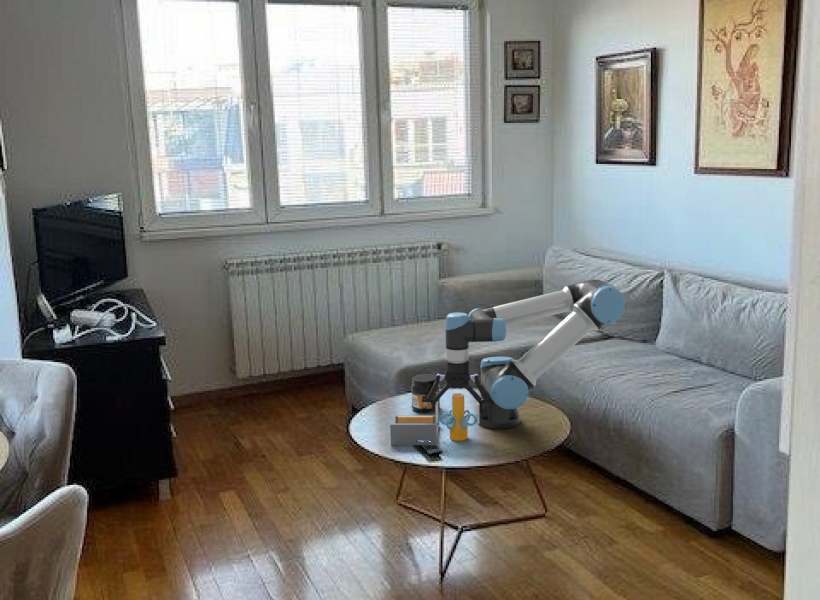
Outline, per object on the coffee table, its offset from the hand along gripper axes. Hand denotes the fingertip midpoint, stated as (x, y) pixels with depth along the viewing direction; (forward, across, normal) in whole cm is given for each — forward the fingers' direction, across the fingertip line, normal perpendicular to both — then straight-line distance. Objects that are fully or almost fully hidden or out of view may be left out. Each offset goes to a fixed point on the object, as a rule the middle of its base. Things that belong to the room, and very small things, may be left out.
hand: (457, 422), depth 279 cm
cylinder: (+6, 0, 0) cm, 6 cm away
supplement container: (+6, +12, -30) cm, 33 cm away
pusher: (+6, +14, -3) cm, 16 cm away
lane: (+6, +14, -3) cm, 16 cm away
